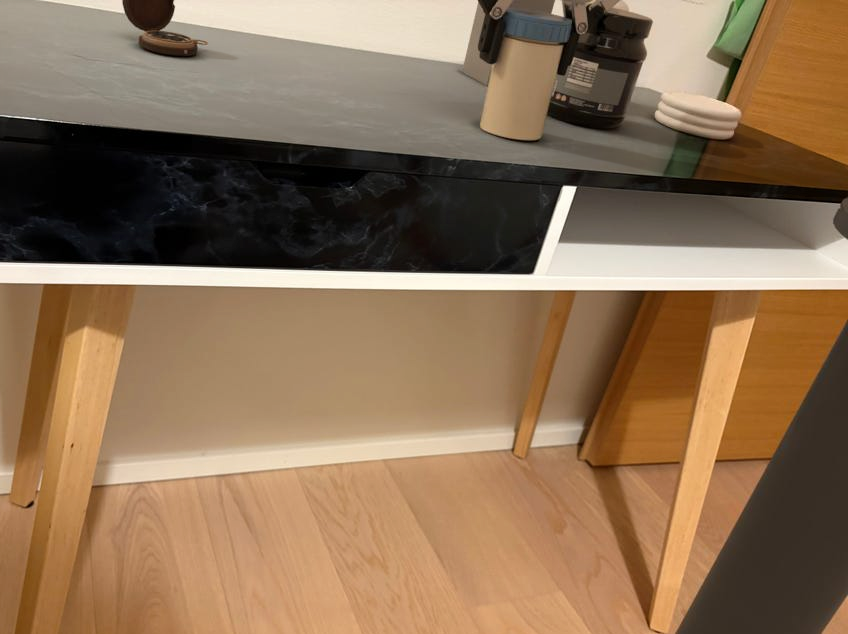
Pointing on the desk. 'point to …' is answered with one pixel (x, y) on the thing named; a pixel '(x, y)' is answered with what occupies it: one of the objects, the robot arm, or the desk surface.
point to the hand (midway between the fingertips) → (522, 65)
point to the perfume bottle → (473, 64)
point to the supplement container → (602, 71)
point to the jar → (521, 88)
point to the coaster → (697, 115)
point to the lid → (537, 25)
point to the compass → (158, 27)
